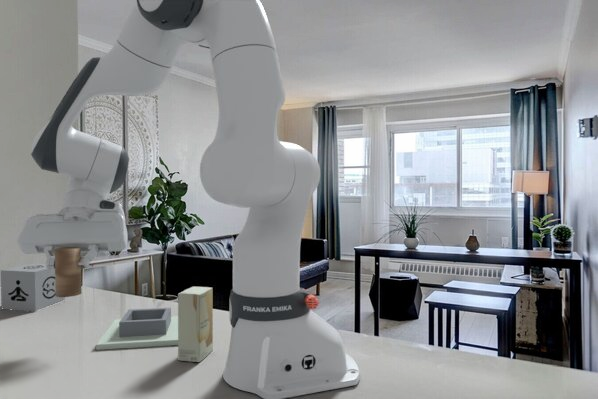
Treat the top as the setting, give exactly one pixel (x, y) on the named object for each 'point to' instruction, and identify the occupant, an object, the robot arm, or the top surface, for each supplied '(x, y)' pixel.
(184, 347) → the skincare box
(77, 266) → the brown dome-topped peg
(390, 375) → the top surface
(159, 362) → the top surface
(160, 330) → the collar holder
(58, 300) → the icon cube
